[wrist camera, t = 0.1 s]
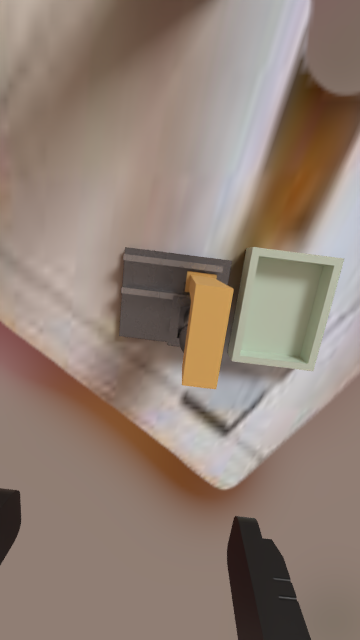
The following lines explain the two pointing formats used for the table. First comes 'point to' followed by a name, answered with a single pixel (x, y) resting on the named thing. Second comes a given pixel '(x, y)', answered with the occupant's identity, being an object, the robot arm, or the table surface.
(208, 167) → the table surface
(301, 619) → the robot arm
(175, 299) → the hitch
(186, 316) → the pin
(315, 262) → the tray
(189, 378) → the bracket
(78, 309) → the table surface
